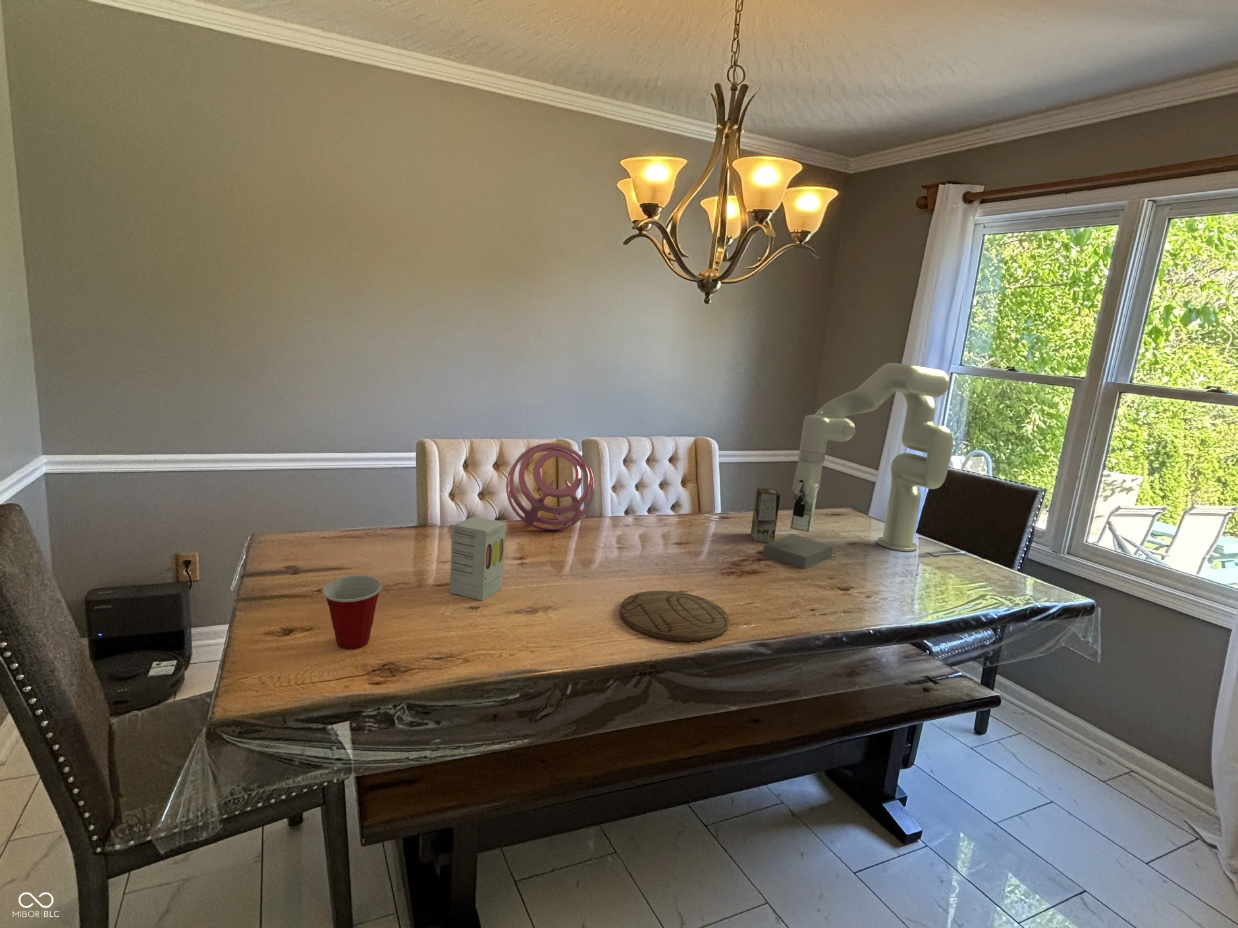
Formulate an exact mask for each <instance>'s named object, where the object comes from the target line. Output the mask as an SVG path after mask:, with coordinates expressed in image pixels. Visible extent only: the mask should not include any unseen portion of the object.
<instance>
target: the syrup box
mask: <svg viewBox="0 0 1238 928" xmlns="http://www.w3.org/2000/svg"><path fill="white" fill-rule="evenodd" d="M818 491H819V490H818V484H815V485H813V486H812V487H811V491H810V494H809V495H807V497H806V500H805V503H804V504H805V511H804V517H798V516H794V515H793V513H792V515H791V522H790V529H792V530H796V531H802V532H807V533H809V532H810V531H811V530H812V528H813V522H814V515H815V509H816V502H817V496H818ZM800 493H803V494H804V493H805V492H803V491H801V492H800ZM801 497H802V499H803V496H801ZM794 504H795V502H793V505H794ZM793 511H794V506H793V508H792V512H793Z"/></svg>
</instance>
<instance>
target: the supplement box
mask: <svg viewBox="0 0 1238 928" xmlns="http://www.w3.org/2000/svg"><path fill="white" fill-rule="evenodd" d="M506 523H507V522H505V521H500V520H496V519H489V518H485V517H480V516H476V515H475V516H471V517H469V518H466V519H464V520H462V521H459V522H457V523H453V524H452V525H451V549H450V551H451V552H450V568H449V569H450V571H449V572H450V574H449V575H450V576H449V593H450V594H454V595H457V596H462V597H467V598H470V599H473V600H478V601H484V600H485V599H487V598H489V597H490V596H492V595H494V594H495V593H497V592H499V591H500V590H502V589H503V577H504V559H505V557H504V556H505V541H506V529H507V528H506V525H507V524H506Z"/></svg>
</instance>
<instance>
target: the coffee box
mask: <svg viewBox="0 0 1238 928" xmlns="http://www.w3.org/2000/svg"><path fill="white" fill-rule="evenodd" d="M754 497H755V498H754V506H753V510H752V511H753V513H752V519H751V520H752V521H751V528H750V529H751V530H750V534H751V536H752V538H753V540H754V541H755V542H762V543H770V542H773V541H775V537H776V536H775V535H776V529H777V521H778V515H779V509H780V508H779V507H780V503H781V502H780V501H781V494H780V493H779V492H778V491H777V490H776V489H775V488H769V487H768V488H765V487H763V488H762V487H756V488H755V496H754Z"/></svg>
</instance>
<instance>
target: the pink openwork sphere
mask: <svg viewBox="0 0 1238 928" xmlns="http://www.w3.org/2000/svg"><path fill="white" fill-rule="evenodd" d="M538 453H544V454H542V455H541V456H540V457H538V459H536V461H535V463H534V465H533V469H532V477H533V481H534V484H535V485H536V486H537V488H538V489H539V490H540V491H541V494H540V496H539V497H536V496H534V494H533V493H532V492H531V490H530V489H529V488H530V487H529V486H528V483H527V481H526V472H527V471H526V469H527V467H528V464H529V462H530V460H531V459H532V458H533V457H534V456H535V455H536V454H538ZM552 458H562V459H565V460H567V461H568V462H569V463H570V464H571V465H572V467H573V469H574V473H575V477H574V480H573V482H572V484H570V483H569V482H568V480H567V479H564V484H565V486H566V488H561V489H558V488H553V485H554V482H555V479H552V480H551V481H550V483H548V484H547V483H546V482H545V481H544V478H543V475H542V469H543V466H544V464H546V462H547V461H549V460H550V459H552ZM520 462H521V464H520V466H519V470H518V484H519V488H520V490H521V492H522V494H523V495H522V496H524V498H525V499H526V500H527V502H528V503H529V504H530V505H531V508H530V509H528V508H527V507H526V506H525V505H524V504H523V502H521V500H520V499H519V496H518V494H517V492H516V488H515V472H516V469H517V467H518V465H519V463H520ZM583 474H584V476H585V479H586V486H585V489H584V492H583V493H582V495H580V497H577V495H576V493H577V491H578V490H579V488H580V487H581V484H582V481H583ZM595 490H596V482H595V475H594V473H593V470H592V468H591V466H590V465H589V463H588V461H587V460H586V459H585V458H584V456H582V455H581V454H580V453H579V452H578V451H576V450H575V449H573V448H571V447H569V446H567V445H565V444H562V443H561V444H560V443H554V442H553V443H552V442H547V443H540V444H536V445H533V446H531V447H530V448H528V449H526V450H524V451H523V452H522V453H521V454H520V455H519V456H518V457H517V458H516V459H515V461H514V463H512V465H511V467H510V469H509V472H508V474H507V478H506V484H505V491H506V493H505V494H506V497H507V501H508V503H509V505H510V507H511V509H512V511H513V513H514V514H515V515H516V516H517V517H518V519H520V520H521V521H522V522H523V523H524V524H525V525H526V526H528V527H531V528H534V529H537V530H541V531H546V532H555V531H563V530H566V529H569V528H571V527H573V526H575V525H576V524H578V523H579V522H580V521H581V520H582V519H583V518H584V517H585V516H586V515H587V513H588V511H589V509H590V507H591V505H592V502H593V500H594V497H595V492H596V491H595ZM548 497H552V498H556V499H557V498H558V499H563V498H567V497H570V498H571V503H570V504H567V505H563V506H555V505H550V504H547V503H546V502H545V500H546V498H548ZM587 499H588V501H587V503H586V505H585V506H584V507H582V505H584V503H585V501H586V500H587ZM512 500H513V501H512ZM514 504H515V505H516V506H517V508H518V509H519V510H520V511H521V513H522V514H523V515H524V516H523V515H522V514H521V513H520V512H519V510H517V508H516V506H515V505H514ZM539 512H544V513H547V514H552V515H553V516H554V517H555V518H556V519H548V518H543V517H541V516H540V515H538V514H539ZM570 512H574V514H573V515H572V516H570V517H567V518H565V517H563V516H561V515H562V514H567V513H570ZM534 522H535V523H534ZM536 523H539V524H543V525H547V526H542V525H539V524H536ZM562 525H563V526H562ZM548 526H557V527H548Z"/></svg>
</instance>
